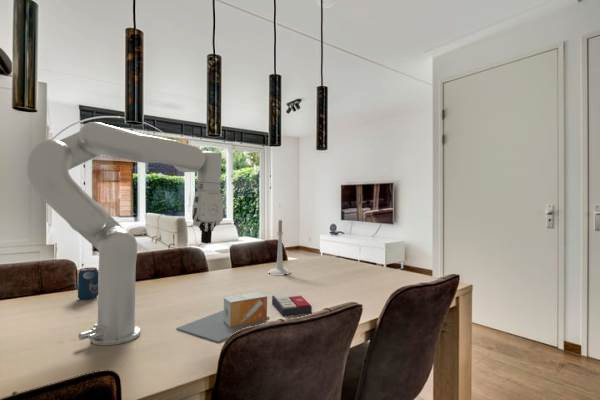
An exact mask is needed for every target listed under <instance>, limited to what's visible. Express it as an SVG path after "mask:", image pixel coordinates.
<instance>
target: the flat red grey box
mask: <svg viewBox="0 0 600 400" xmlns="http://www.w3.org/2000/svg"><path fill="white" fill-rule="evenodd" d="M271 298H272V299H271V305H272V306H273V307H274V308H275V310H276V311H277V312H278V313H279V314H280V316H282V317H292V316H291V315H293V316H299V315H310V313H311V314H312V312H313V307H312V305H311V304H310V303H309V302H308V300H306V299H305V298H304V297H303V296H302V295H300V293H298V292H293V293H292V292H291V293H283V294H282V293H281V294H274V295H272V297H271Z"/></svg>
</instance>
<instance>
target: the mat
mask: <svg viewBox="0 0 600 400" xmlns="http://www.w3.org/2000/svg"><path fill="white" fill-rule="evenodd" d="M269 319H270V316H268V315H267V320H269ZM223 320H224V309H222V310H219V311H217V312H214V313H212V314H209V315H207V316H205V317H201V318H200V319H196V320H193V321H191V322H189V323H186V324H184V325H180V326H179V327H176V328H175V330H176V331H179V332H183V333H185V334H188V335H192V336H195V337H198V338H201V339H205V340H207V341H210V342H214V343H217V344H220V343H222V342H224V341H227V340H228V339H229V338H228V337H229V336H230V335H231V334H233V333H235V332H236V331H238V330H241V329H243V328H246V327H249V326H253V325H255V326H256V324H257V325H259V324H260V323H263V322H265V321H266V320H263V321H258V322H253V323H249V324H244V325H239V326H234V327H229V326H228V325H227V324H226V323H225V322H224V321H223ZM253 327H254V326H253ZM227 338H228V339H227Z"/></svg>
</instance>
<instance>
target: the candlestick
mask: <svg viewBox="0 0 600 400" xmlns="http://www.w3.org/2000/svg"><path fill="white" fill-rule="evenodd" d="M276 233H277V237H278V241H277V251H276V253H277V254H276V257H277V258H276V267H274V268H272V269H270V270H268V272H267V273H270V274H287V273H290V272H291V270H290V269H287V268H285V267H284V264H283V263H284V262H283V259H284V258H283V238H282V237H283V234H284V231H283V220H282V219H280V220H278V231H276ZM291 273H292V272H291ZM270 274H269V275H270Z"/></svg>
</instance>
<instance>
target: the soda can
mask: <svg viewBox="0 0 600 400" xmlns="http://www.w3.org/2000/svg"><path fill="white" fill-rule="evenodd" d="M98 271H99V270H98V269H97V267H84V268H80V269H79V271H78V274H77V298H78V300H79V301H83V302H85V301H86V302H87V300H88V301H92V300H96V299H97V298H98ZM95 298H96V299H95Z"/></svg>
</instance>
